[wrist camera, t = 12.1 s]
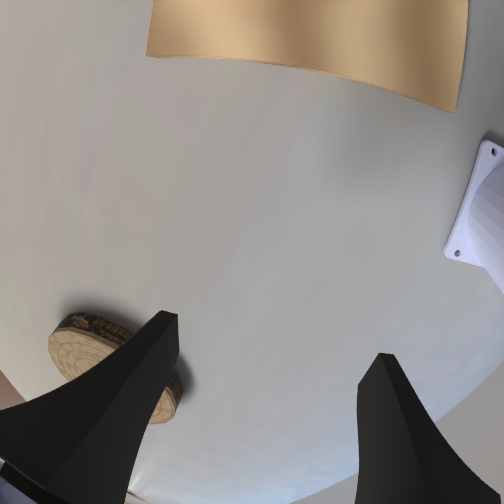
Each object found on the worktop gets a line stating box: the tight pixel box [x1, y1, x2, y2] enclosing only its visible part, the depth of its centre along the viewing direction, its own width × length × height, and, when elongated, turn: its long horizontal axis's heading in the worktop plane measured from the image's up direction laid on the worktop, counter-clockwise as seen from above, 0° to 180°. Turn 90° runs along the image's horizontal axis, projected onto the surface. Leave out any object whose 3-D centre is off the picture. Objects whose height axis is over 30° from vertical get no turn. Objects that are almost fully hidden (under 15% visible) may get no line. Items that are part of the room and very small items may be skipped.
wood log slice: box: [48, 313, 183, 424], centre depth 29 cm, size 16×16×3 cm
